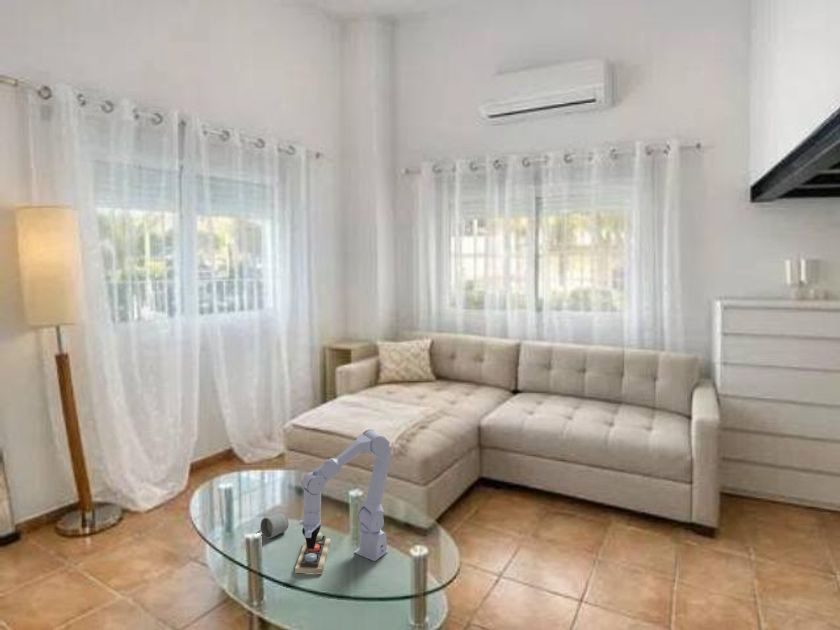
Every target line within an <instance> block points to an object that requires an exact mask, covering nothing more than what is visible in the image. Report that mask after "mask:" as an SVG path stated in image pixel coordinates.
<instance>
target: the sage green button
mask: <svg viewBox="0 0 840 630" xmlns="http://www.w3.org/2000/svg"><path fill="white" fill-rule="evenodd" d="M322 536H324V535H323V532H321V531H319V533H318V535H317V538H316V542H320V541H322Z"/></svg>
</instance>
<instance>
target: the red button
mask: <svg viewBox="0 0 840 630" xmlns="http://www.w3.org/2000/svg"><path fill="white" fill-rule="evenodd" d="M308 552H320V545H319V544H316V543H315V547H314V549H308Z"/></svg>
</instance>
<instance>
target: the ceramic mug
mask: <svg viewBox="0 0 840 630" xmlns="http://www.w3.org/2000/svg"><path fill="white" fill-rule="evenodd" d="M289 523H290V522H289V519H288V517H287V516H286V514H285V513H283V512H282V513H281V512H280V513H279V512H278V513H276V514H272V515H269V516H266V517H265V516H264V517H263V518H262V519H261V521H260V531H261V534H262V536H263V538H265V539H267V540H268V539H271V538H274V537H276V536H278V535H281V534H282V533H283V534H284V533H285V532H286V531H287V529H288V528H289Z"/></svg>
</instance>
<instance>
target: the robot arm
mask: <svg viewBox="0 0 840 630" xmlns="http://www.w3.org/2000/svg"><path fill="white" fill-rule="evenodd" d="M390 444H391V443H390V441H389V440H388V438H387V437H385V436H384V435H381V434H380V433H378V432H377V431H375V430H374V429H372V428H371V429H370V428H368V429H366V430H364V431H363V432H362V433H360V434H359V435H358V436H357V437H356V439H355V441H354V442H352V443H351V444H350V445H348V447H347V448H346V449H344V450H343V452H341V453H340V454H339V455H337V457H336V458H335V457H332V458H331V457H330V458H329V459H328V458H326V459H325V460H324V462H323V463H322V464H321V465H320V466H319V467H317V468H315V469H313V471H311V472H307V473H305V474H304V475H303V478H302V480H301V481H300V483H301V486H302V487H303V510H302V517H303V518H302V519H300V520H299V522H298V523H299V525H301V526H302V530H301V531H302V534H303V536H304V539H306V543H307V548H308V549H314V547H315V543H316V538H317V535H318V533H319V532H320V530H321V526H322V520H321V515H322V513H321V512H322V511H321V510H322V509H321V507H322V492H323V490H324V489H325V486H326V485H327V483H328V482H330V480H332V479H333V478H335V477H336V476H337V475H338V474H340V472H342V467H343V466H344V465H346V464H347V463H348V462H350V461H351V460H353V459H354V458H356V457H357V456H358V455H360V454H372V455H373V456H374V457H375V459H374V463H373V467H372V472H371V478H370V482H369V487H368V490H367V496H366V499H365V500H364V501H363V502H362V503H361V505H360V506H361V507H360V509H358V512H357V520H358V521H359V523H360V524H359V548H357V549H356V550H354V552H353V553H354V554H356V555H358V556H361V557H363V558H365V559H368V560H371V561H372V562H376V561H377V560H378V559H380V558H382V557H383V556H384V555H385V554H387V553H388V549H387V548H388V547H387V546H388V544H387V543H388V536H387V533H386V532H384V531H383V530H382V529H383V527H384V524H385V520H384V512H385V511H384V508H383V506H382V500H383V497H384V492H385V491H384V490H385V487H386V482H387V477H388V472H389V469H390V463H391V460H392V452H391V449H390Z"/></svg>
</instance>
